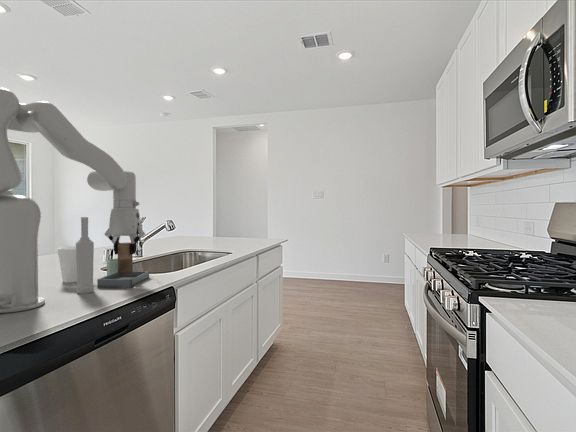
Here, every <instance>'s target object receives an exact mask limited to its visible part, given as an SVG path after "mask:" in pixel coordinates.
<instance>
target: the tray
mask: <svg viewBox="0 0 576 432" xmlns="http://www.w3.org/2000/svg"><path fill="white" fill-rule="evenodd" d="M96 279H97V278H96ZM148 279H150V271H148V270H147V271H145V270H137V271H134V270H133V272H132V273H129V274H118V272H115V273H113V274H110V275H107V274H106V275H105V276H103V277H100V278H98V279H97V281H96V284H97V289H133V288H134V287H135V286H136V285H138V284H140V283H142V282H145V281H146V280H148Z"/></svg>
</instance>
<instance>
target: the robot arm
mask: <svg viewBox="0 0 576 432" xmlns="http://www.w3.org/2000/svg"><path fill="white" fill-rule="evenodd" d="M9 130H10V131H14V132H15V131H17V132H23V133H31V134H32V133H40V134H41V136H43V137H44V138H45V139H46V141H48V142H49V143H50V144H51V145H52V146H53V147H54V149H56V150H57V151H58V152H59V153H60V154H61V155H62V156H63V157H65V158H67V159H70V160H71V161H75V162H77V163H80V164H82V165H85V166H86V167H88V168H91V169H92V171H91V172H89V173H88V175H87V178H86V181H87V184H88V185H89V187H90V188H91V189H93V190H95V191H99V192H102V191H103V192H104V191H112V193H113V194H112V195H113V197H112V198H113V199H112V205H113V206H112V208H111V210H110V214H109V215H110V216H109V223H108V224H109V226H108V229H107V230H106V231H105V232H104V236H105V237H107V238H108V239H109V241H111V243H112V244H113V253H114V255H118V243H120V240H121V237H123V236H126V237H127V236H129V239H130V243H131V244H130V254H131V255H132V254H133V255H134V254H136V252H137V243H138V242H139V241H140V240H141V239H142V238H143V237H144V236H146V232H145V231H144V230H143V229H142V223H141V216H140V212H139V208H137V207H138V206H140V202H139V201H137V198H136V197H137V195H136V194H137V193H136V192H137V191H136V189H137V188H136V186H137V185H136V179H137V178H136V174H135V173H134V172H132V171H127V170H126V171H124V169H123V168H122V166H120V165H119V163H118V162H117V161H116V160H115V159H114V158H113V157H112V156H111V155H110V154H109V153H107V152H106V151H104V150H103V149H101V148H99V147H98V146H97V145H95V144H94V143H92V142H90V141H88V140H87V139H86V138H85V137H84V136H83V135H82V134H81V133H80V132H79V131H78V129H77V128H76V127H75V126H74V125H73V124H72V123H71V122H70V121H69V119H68V118H67V117H66V116H65V115H64V114H63V113H62V111H60V109H59V108H58V107H57V106H55V105H54V104H53V103H51V102H48V101H44V100H42V101H41V100H40V101H34V102H29V103H20V101H19V98H18V97H17V95H16V94H15V93H14V92H13V91H11V90H9V89H8V88H4V87H0V314H5V313H15V312H17V313H18V312H23V311H28V310H32V309H36V308H39V307H41V306H43V305H44V304H45V300H46V299H45V298H44V297H41V296H39V258H38V256H39V254H38V253H39V251H38V247H39V246H38V245H39V244H38V241H39V240H38V237H39V236H38V235H39V230H40V229H39V228H40V223H41V218H42V216H41V215H42V214H41V213H42V212H41V208H40V207H39V205H38V203H37V202H36V201H35V200H33V199H32V198H30V197H28V196H25V195H21V194H13V190H15V189H17V188H19V186H20V185H21V184H22V180H23V179H22V178H23V177H22V176H23V175H22V172H21V170H20V168H19V164H18V162H17V160H16V158H15V155H14V152H13V150H12V147H11V145H10V142H9V137H8V131H9Z"/></svg>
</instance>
